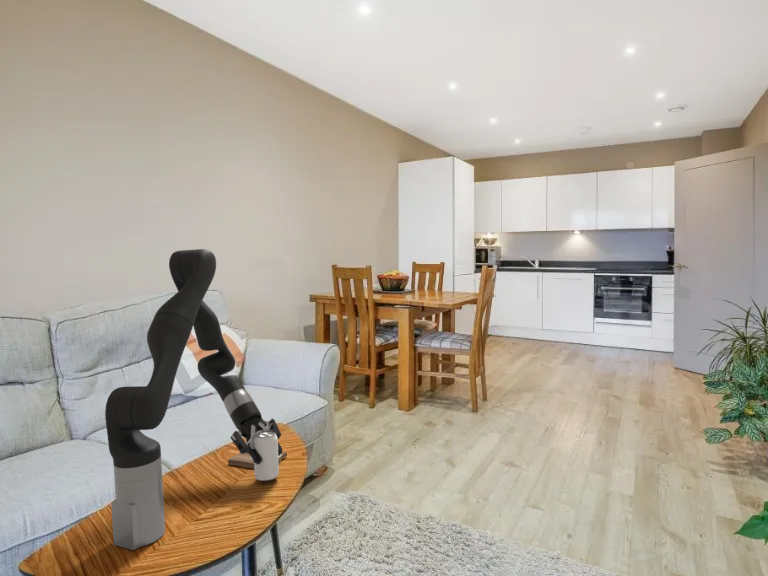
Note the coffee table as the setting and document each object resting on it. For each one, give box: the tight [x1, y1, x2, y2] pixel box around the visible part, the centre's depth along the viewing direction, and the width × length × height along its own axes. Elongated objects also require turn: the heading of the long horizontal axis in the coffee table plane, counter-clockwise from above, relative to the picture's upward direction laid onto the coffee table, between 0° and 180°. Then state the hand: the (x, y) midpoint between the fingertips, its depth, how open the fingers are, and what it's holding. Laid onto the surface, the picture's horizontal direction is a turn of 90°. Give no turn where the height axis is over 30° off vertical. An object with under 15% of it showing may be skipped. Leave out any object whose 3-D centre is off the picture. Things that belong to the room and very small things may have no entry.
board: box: [227, 451, 288, 469], centre depth 142 cm, size 10×14×2 cm
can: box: [253, 430, 280, 482], centre depth 128 cm, size 6×6×12 cm
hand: (270, 458), depth 127 cm, fingers closed on can, 6 cm apart
